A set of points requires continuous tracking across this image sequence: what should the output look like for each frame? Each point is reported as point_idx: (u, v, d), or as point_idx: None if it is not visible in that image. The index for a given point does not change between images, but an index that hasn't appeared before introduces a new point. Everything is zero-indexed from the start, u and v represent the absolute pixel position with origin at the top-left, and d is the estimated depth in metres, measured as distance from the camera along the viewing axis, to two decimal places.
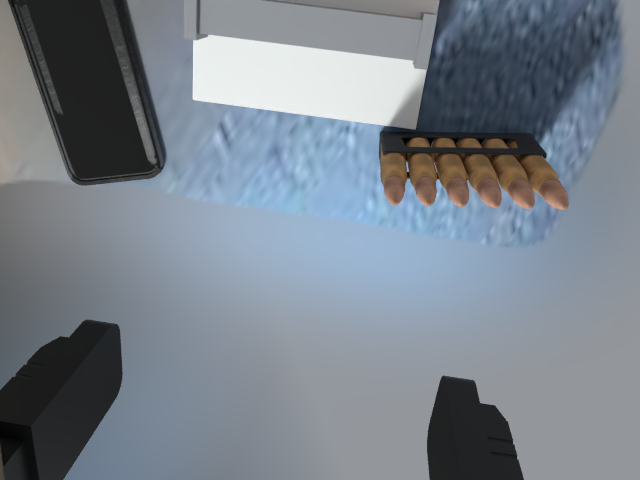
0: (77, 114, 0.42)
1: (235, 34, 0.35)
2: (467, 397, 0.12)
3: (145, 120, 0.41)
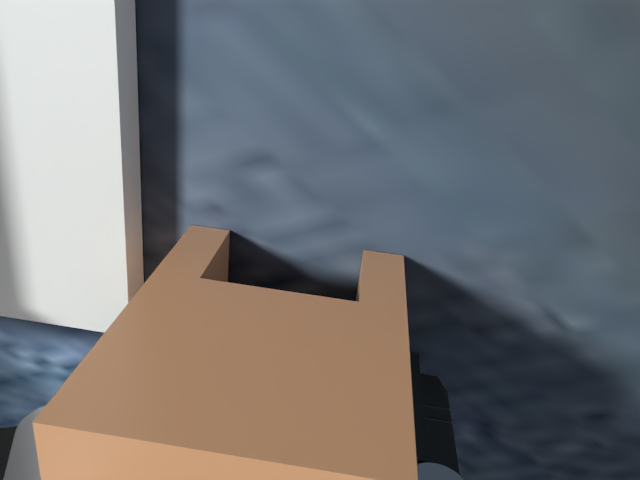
0: None
1: None
2: None
3: None
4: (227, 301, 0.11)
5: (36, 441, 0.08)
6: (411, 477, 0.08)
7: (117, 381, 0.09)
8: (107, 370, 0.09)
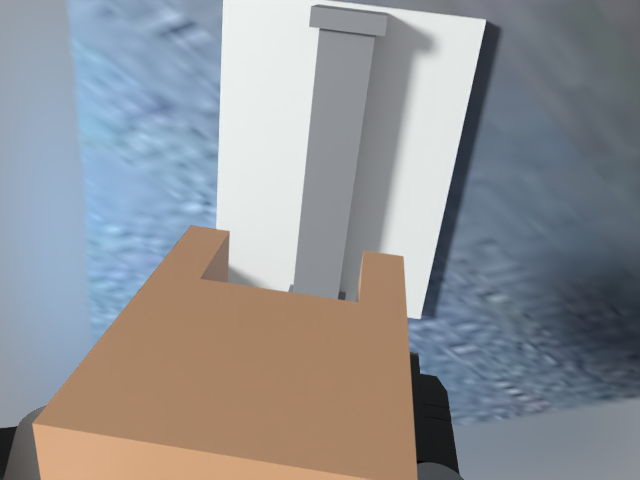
0: None
1: (318, 86, 0.25)
2: None
3: None
4: (227, 302, 0.11)
5: (36, 442, 0.08)
6: (411, 478, 0.08)
7: (117, 382, 0.09)
8: (107, 371, 0.09)
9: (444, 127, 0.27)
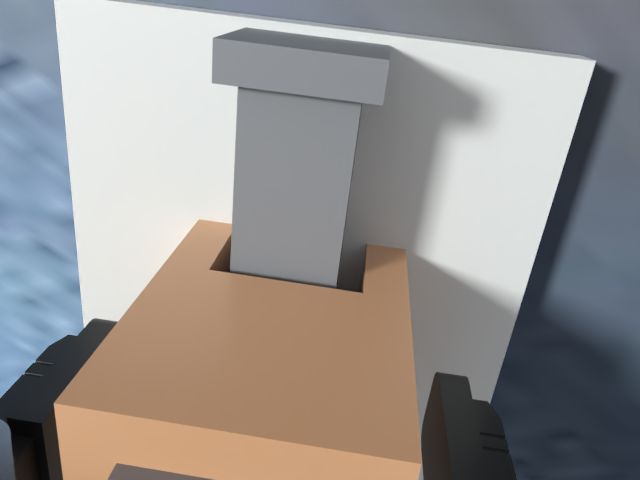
0: None
1: (243, 201, 0.12)
2: (460, 393, 0.12)
3: None
4: (236, 292, 0.11)
5: (57, 421, 0.08)
6: (415, 456, 0.08)
7: (133, 366, 0.09)
8: (123, 355, 0.09)
9: (498, 261, 0.14)
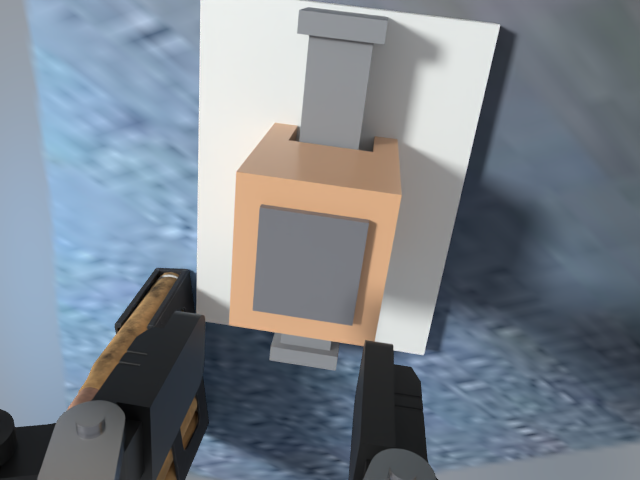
0: None
1: (308, 100, 0.22)
2: (382, 358, 0.13)
3: None
4: (305, 148, 0.21)
5: (236, 182, 0.18)
6: (399, 193, 0.18)
7: (265, 165, 0.19)
8: (259, 162, 0.19)
9: (451, 145, 0.24)
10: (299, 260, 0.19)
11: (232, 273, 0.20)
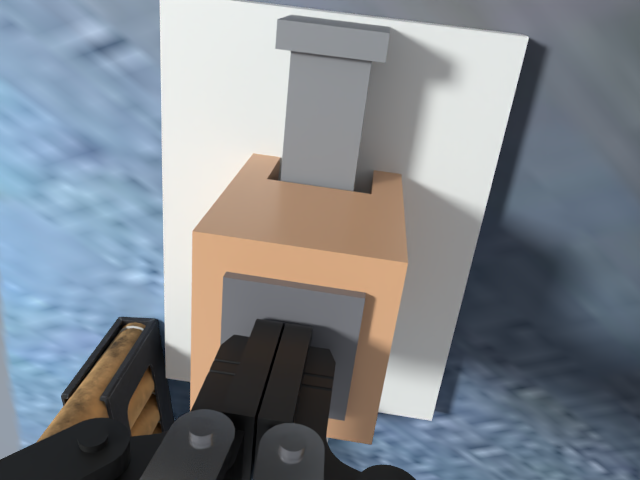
0: None
1: (291, 131, 0.17)
2: (299, 339, 0.13)
3: None
4: (287, 190, 0.17)
5: (192, 243, 0.14)
6: (404, 260, 0.14)
7: (232, 219, 0.15)
8: (224, 214, 0.15)
9: (467, 182, 0.20)
10: None
11: (192, 354, 0.15)
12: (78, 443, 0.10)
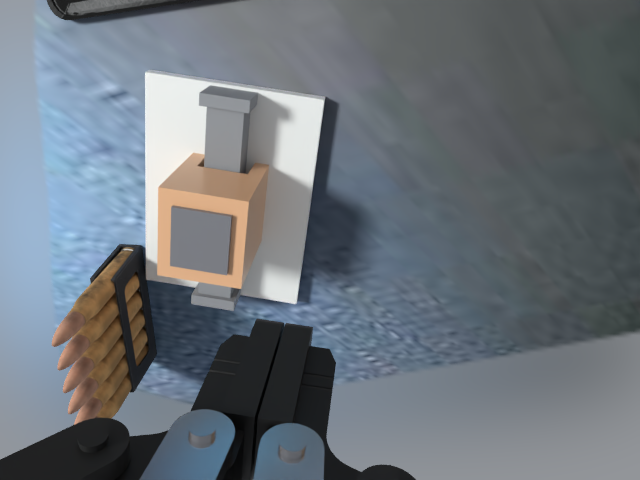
0: None
1: (208, 143, 0.36)
2: (298, 339, 0.13)
3: (116, 7, 0.36)
4: (205, 171, 0.36)
5: (158, 192, 0.33)
6: (247, 200, 0.33)
7: (176, 182, 0.34)
8: (173, 181, 0.34)
9: (302, 169, 0.39)
10: (194, 237, 0.33)
11: (158, 244, 0.34)
12: (78, 443, 0.10)
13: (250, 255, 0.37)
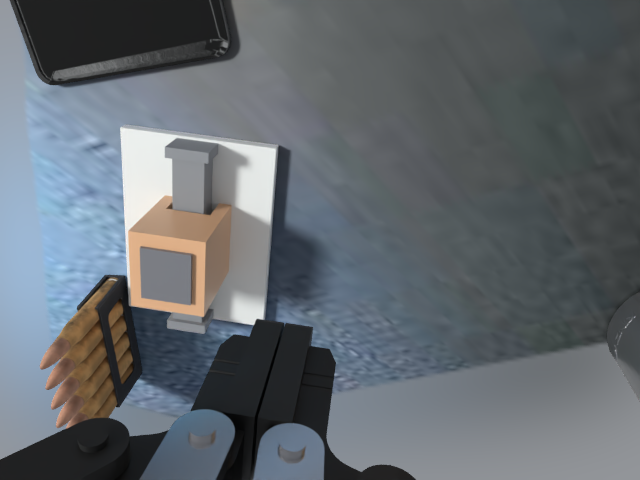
0: None
1: (175, 188, 0.41)
2: (298, 339, 0.13)
3: (94, 74, 0.41)
4: (172, 213, 0.41)
5: (128, 235, 0.38)
6: (205, 241, 0.38)
7: (144, 226, 0.39)
8: (142, 224, 0.39)
9: (260, 208, 0.44)
10: (161, 273, 0.39)
11: (130, 279, 0.39)
12: (78, 443, 0.10)
13: (213, 286, 0.42)
